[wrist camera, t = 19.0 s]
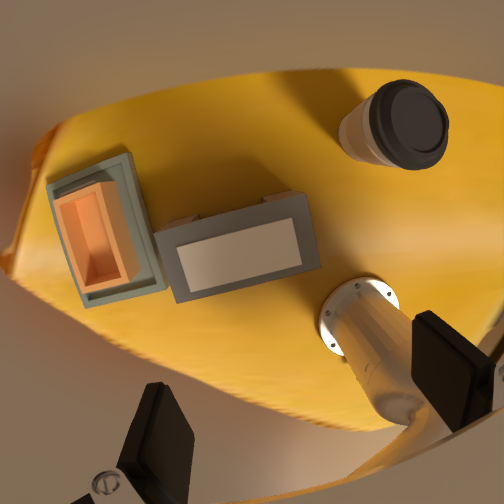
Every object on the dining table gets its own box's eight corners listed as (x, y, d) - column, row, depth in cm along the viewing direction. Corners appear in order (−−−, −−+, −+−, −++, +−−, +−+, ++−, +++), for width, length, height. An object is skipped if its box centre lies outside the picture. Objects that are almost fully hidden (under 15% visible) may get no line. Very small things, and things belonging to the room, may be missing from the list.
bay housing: (187, 279, 41) (176, 304, 33) (169, 221, 39) (152, 234, 31) (305, 249, 41) (321, 268, 33) (292, 189, 39) (306, 193, 31)
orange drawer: (141, 269, 39) (129, 282, 34) (97, 281, 39) (82, 294, 34) (114, 176, 36) (98, 177, 31) (70, 193, 36) (51, 196, 31)
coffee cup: (345, 179, 39) (403, 184, 24) (318, 115, 37) (363, 85, 22) (400, 157, 38) (469, 154, 24) (375, 96, 36) (437, 67, 22)
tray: (169, 284, 41) (166, 289, 39) (90, 303, 41) (85, 308, 39) (131, 153, 36) (126, 152, 34) (52, 185, 37) (45, 186, 35)
